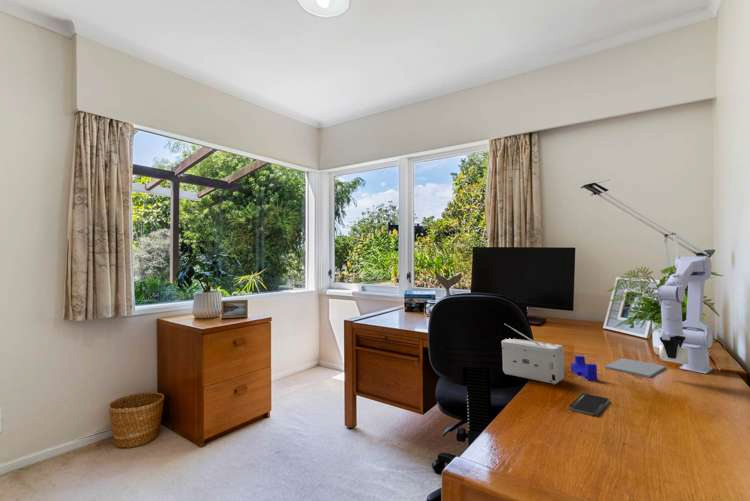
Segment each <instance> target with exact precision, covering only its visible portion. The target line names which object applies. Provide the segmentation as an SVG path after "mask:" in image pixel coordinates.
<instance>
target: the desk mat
mask: <svg viewBox="0 0 750 501" xmlns="http://www.w3.org/2000/svg"><path fill="white" fill-rule="evenodd" d="M666 368H667V366H665V365H660V364H657V363H650V362H645V361H640V360H639V361H638V360H634V359H628V358H619V359H617V360H615V361H613V362H610V363H609V364H607V365H605V366H604V369H607V370H612V371H617V372H621V373H625V374H631V375H635V376H639V377H640V376H641V377H645V378H649V379H650V378H652V377H654V376H655V375H657V374H659V373H661V372H662V371H664V370H665V369H666Z"/></svg>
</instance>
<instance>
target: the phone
mask: <svg viewBox="0 0 750 501" xmlns="http://www.w3.org/2000/svg"><path fill="white" fill-rule="evenodd" d="M610 403H611V402H610V399H609V398H607V397H603V396H599V395H594V394H589V393H586V392H585V393H584V392H582V393H581V394H580V395H579V396H577V398H576V399H575V400H574V401H572V403H570V405H569V406H568V410H569V409H570V410H569V411H571V410H573V411H572V412H575V411H577V412H576V413H578V412H581V413H580V414H582V413H584V415H586V414H588V415H587V416H590V415H592V416H591V417H594V416H598V417H600V415H601V414H602V413H603V412H604V410H605V409H606V408H607V407H606V406H608V405H609V404H610Z"/></svg>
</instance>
